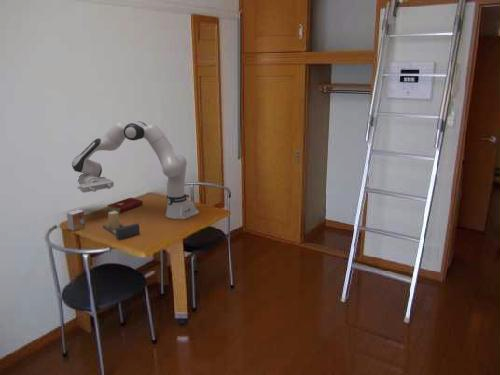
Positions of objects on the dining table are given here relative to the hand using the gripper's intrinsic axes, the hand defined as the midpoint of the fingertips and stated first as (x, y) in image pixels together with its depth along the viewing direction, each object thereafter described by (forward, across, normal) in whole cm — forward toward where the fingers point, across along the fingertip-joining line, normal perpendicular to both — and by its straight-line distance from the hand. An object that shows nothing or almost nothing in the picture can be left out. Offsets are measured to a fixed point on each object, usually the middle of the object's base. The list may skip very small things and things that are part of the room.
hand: (102, 188), depth 258 cm
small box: (-2, -17, +22) cm, 28 cm away
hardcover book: (-17, +23, +23) cm, 37 cm away
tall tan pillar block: (+12, 0, +22) cm, 25 cm away
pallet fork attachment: (+18, 0, +22) cm, 28 cm away
